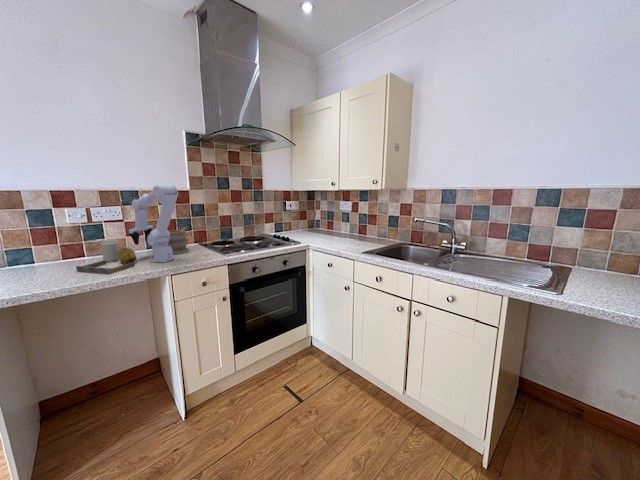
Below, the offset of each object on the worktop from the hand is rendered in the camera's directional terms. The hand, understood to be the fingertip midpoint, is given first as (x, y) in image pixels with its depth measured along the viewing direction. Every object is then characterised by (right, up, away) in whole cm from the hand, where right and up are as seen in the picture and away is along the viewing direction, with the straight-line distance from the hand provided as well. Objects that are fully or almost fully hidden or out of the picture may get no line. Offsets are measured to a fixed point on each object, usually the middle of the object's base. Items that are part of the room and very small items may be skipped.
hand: (142, 242), depth 157 cm
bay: (-4, -13, -21) cm, 25 cm away
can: (-14, -10, -5) cm, 18 cm away
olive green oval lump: (-2, -11, -9) cm, 15 cm away
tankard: (+14, -6, +17) cm, 23 cm away
